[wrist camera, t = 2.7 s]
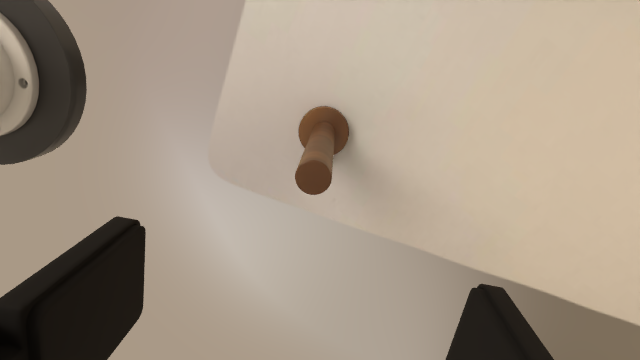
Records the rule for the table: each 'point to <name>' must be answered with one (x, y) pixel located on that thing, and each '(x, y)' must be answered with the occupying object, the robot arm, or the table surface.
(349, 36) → the table surface
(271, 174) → the table surface
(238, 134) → the table surface
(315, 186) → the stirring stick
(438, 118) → the table surface
